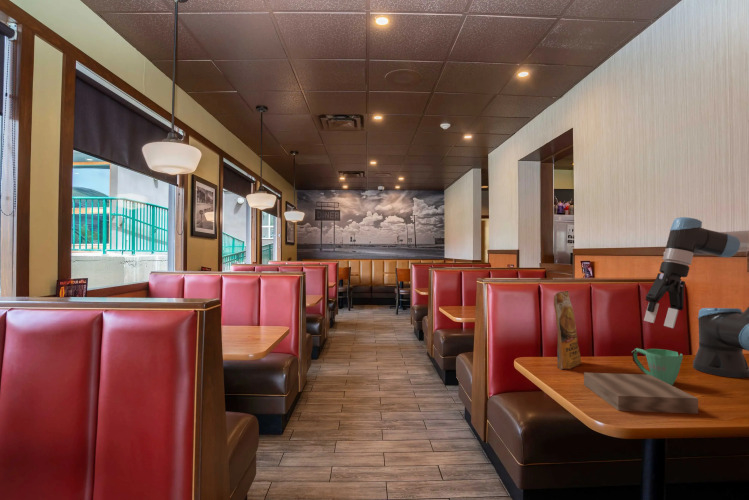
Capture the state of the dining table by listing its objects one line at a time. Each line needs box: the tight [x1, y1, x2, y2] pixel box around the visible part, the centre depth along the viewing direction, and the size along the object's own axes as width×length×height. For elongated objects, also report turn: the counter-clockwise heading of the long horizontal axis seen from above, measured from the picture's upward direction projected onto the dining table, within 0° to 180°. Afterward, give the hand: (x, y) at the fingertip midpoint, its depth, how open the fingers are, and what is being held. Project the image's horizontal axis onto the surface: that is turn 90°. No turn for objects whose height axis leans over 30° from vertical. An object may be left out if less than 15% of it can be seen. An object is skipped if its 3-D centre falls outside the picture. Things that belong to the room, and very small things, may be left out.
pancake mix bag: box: [553, 291, 582, 370], centre depth 143 cm, size 7×19×28 cm, turn 132°
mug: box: [631, 347, 684, 386], centre depth 125 cm, size 15×10×10 cm
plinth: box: [583, 372, 699, 415], centre depth 110 cm, size 20×20×4 cm
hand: (658, 324), depth 125 cm, fingers open, 13 cm apart
